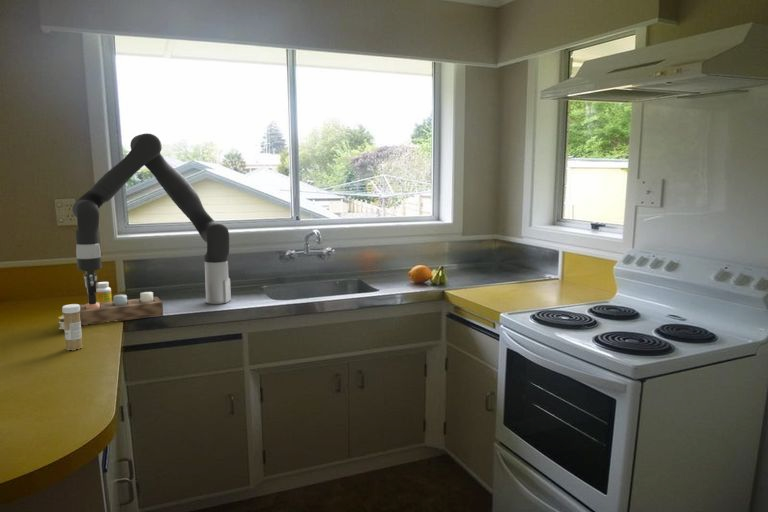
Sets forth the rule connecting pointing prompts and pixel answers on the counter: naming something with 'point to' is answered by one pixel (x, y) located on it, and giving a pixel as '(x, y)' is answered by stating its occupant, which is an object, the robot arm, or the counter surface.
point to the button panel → (121, 311)
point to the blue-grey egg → (120, 300)
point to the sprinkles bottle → (72, 326)
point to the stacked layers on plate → (61, 322)
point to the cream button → (146, 297)
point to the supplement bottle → (103, 292)
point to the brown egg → (92, 305)
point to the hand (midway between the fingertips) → (92, 303)
